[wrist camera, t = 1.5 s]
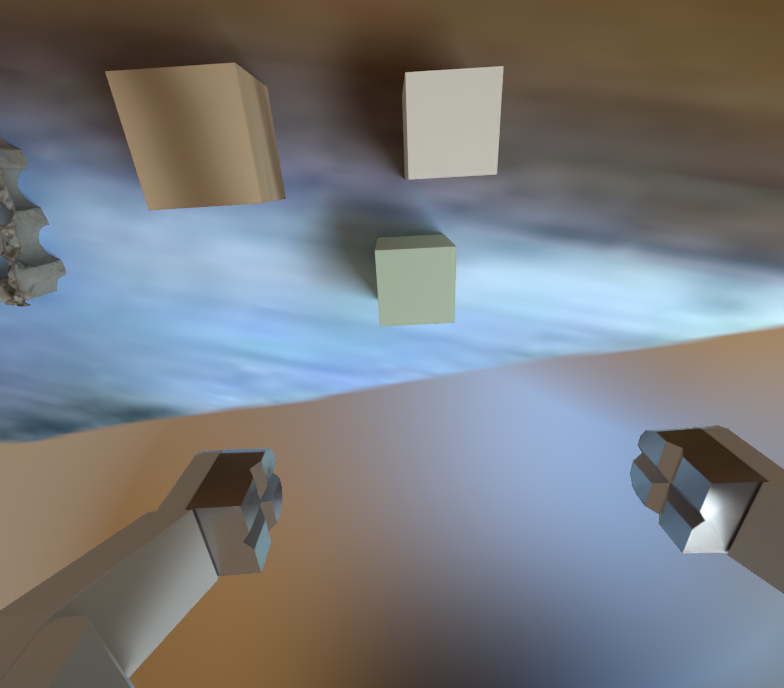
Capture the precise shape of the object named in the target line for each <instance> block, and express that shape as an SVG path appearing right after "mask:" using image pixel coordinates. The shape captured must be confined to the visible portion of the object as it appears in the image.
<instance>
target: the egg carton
mask: <svg viewBox="0 0 784 688" xmlns="http://www.w3.org/2000/svg"><path fill="white" fill-rule="evenodd" d="M25 169H28V165H27V161H26V158H25V156H24V154H23V152H22V150H21V149H18V148H15V147H13V146H11V145H9V144H8V143H6V142H5V141H4V140H3V139H2V137H1V136H0V204H2V205H3V206H4V207H5V208H7V209H8V210H12V211H13V218H12V220H11V222H9V223H8V224H6V225H0V255H1V256H2V257H4V258H6V259H7V260H8V262H9V271H8V274H7V276H8V278H4V279H0V302H5V304H7V305H17V306H30V304H27V303H25V300H30V299H33V298H35V297H39V296H42V295H45V294H48V293H51V292H54V291H57V282H58V279H59V278H60V277H61V276H64V275H66V270H65V267H64V265H63V262H62V260H60V259H57V258H55V257H53V256H51V255H49V254H48V253H47V252H46V251H45V250H44V249H43V247H42V246H41V244H40V242H39V238H38V236H39V232H40V230H41V228H42V227H43V226H45V225H49V223H48V220H47V218H46V217H45V215H44V213H43V211H42V209H41V207H38V206H36V205H34V204H32V203H30V202H29V201H28V200H27V199H26V198H25V197H24V196H23V195H22V193H21V192H20V190H19V187H18V181H17V178H18V176H19V174H20V172H21V171H22V170H25Z"/></svg>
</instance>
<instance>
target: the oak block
mask: <svg viewBox="0 0 784 688" xmlns="http://www.w3.org/2000/svg"><path fill="white" fill-rule="evenodd" d="M105 73H106V76H107V79H108V82H109V85H110V89H111V92H112V95H113V98H114V101H115V105H116V108H117V111H118V114H119V117H120V120H121V124H122V127H123V130H124V133H125V136H126V139H127V143H128V146H129V149H130V152H131V155H132V158H133V162H134V165H135V168H136V171H137V174H138V177H139V181H140V184H141V187H142V190H143V193H144V196H145V200H146V203H147V206H148V209H149V210H160V209H176V208H192V207H208V206H224V205H241V204H257V203H265V202H270V201H276V200H281V199H286V197H285V191H284V185H283V179H282V173H281V167H280V161H279V155H278V149H277V143H276V137H275V131H274V125H273V119H272V113H271V107H270V101H269V95H268V89H267V87H266V86H265V85H264V84H262V83H261V82H260V81H259V80H257V79H256V78H255V77H253V76H252V75H251V74H249V73H248V72H247V71H245V70H244V69H243V68H241V67H240V66H239V65H237V64H236V63H221V64H206V65H192V66H177V67H162V68H147V69H133V70H118V71H105Z"/></svg>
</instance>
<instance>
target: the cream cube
mask: <svg viewBox="0 0 784 688" xmlns="http://www.w3.org/2000/svg"><path fill="white" fill-rule="evenodd" d="M502 81H503V66H499V67H483V68H467V69H451V70H434V71H418V72H405V78H404V84H403V91H402V113H403V143H404V172H405V179H425V178H442V177H460V176H477V175H495V174H497V163H498V146H499V130H500V114H501V97H502Z"/></svg>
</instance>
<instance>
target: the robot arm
mask: <svg viewBox="0 0 784 688" xmlns="http://www.w3.org/2000/svg"><path fill="white" fill-rule="evenodd" d="M638 447H639V448H640V450H641V452H642V453H641V455H639V456H638V457H637V458H636V459H635V460H634V461H633V463H632V467H631V472H630V476H631V481H632V486H633V488H634V490H635V492H636V495H637V496H638V497H639V499H640V500H641V501H642V503H643V504H644V505H645V506H646V507H648V508H650V509H651V510H653V511H655V512H656V513H658V514H659V524H660V526H661V527H662V528H663V529H664V531H665V532H666V533H667V534H668V536H669V537H670V538H671V539H672V541H673V542H674V543H675V544H676V545H677V547H678V548H679V549H680V551H681V552H682V553H724V552H725V553H726V552H728V554H727V555H728V556H730V557H731V558H733V559H734V560H736V561H737V562H738V563H740V564H742V565H743V566H744V567H746V568H747V569H749V570H750V571H751V572H753V573H754V574H756V575H757V576H759V577H760V578H762V579H763V580H765V581H766V582H767V583H769V584H770V585H772V586H773V587H775V588H776V589H778V590H779V591H781V592H782V593H784V469H782V468H781V467H780V466H778V465H777V464H776V463H774V462H773V461H772V460H770V459H769V458H767V457H766V456H765V455H763V454H762V453H760V452H759V451H758V450H756V449H755V448H754V447H752V446H751V445H749V444H748V443H747V442H745V441H744V440H742V439H741V438H740V437H738V436H737V435H736V434H734V433H733V432H731V431H730V430H729V429H727V428H723V427H720V426H705V427H693V428H680V429H663V430H646V431H645V432H644V433H643V434H642V435H641V436H640V439H639V442H638ZM275 465H276V460H275V457H274V453H273V451H272V450H271V449H236V450H235V449H233V450H210V451H201V452H199V453H198V454H196V455H195V457H194V458H193V460H192V461H191V462H190V464H189V465H188V467H187V468H186V470H185V471H184V472H183V474H182V475H181V477H180V478H179V480H178V481H177V482H176V484H175V485H174V487H173V488H172V490H171V491H170V492H169V494H168V495H167V497H166V498H165V500H164V501H163V502H162V504H161V506H160V507H159V508H158V510H157V511H155V512H148V513H146V514H145V515H143V516H142V517H140V518H139V519H137V520H136V521H134V522H132V523H131V524H130V525H128V526H127V527H125V528H123V529H122V530H120V531H119V532H117V533H116V534H114V535H113V536H112V537H110V538H109V539H107V540H106V541H104V542H102V543H101V544H99V545H98V546H97V547H95V548H93V549H92V550H90V551H89V552H87V553H86V554H85V555H83V556H81V557H80V558H78V559H77V560H75V561H74V562H72V563H71V564H69V565H68V566H66V567H65V568H63V569H62V570H60V571H59V572H57V573H56V574H54V575H53V576H51V577H50V578H48V579H47V580H45V581H44V582H42V583H41V584H39V585H38V586H36V587H35V588H33V589H32V590H30V591H29V592H27V593H26V594H24V595H23V596H21V597H20V598H19V599H17V600H15V601H14V602H12V603H11V604H9V605H8V606H6V607H5V608H3V609H2V610H0V688H134V686H133V685H132V683H131V682H130V680H129V679H128V678H129V677H130V676H131V675H132V674H133V672H134V671H135V670H136V669H137V668H138V667H139V666H140V665H141V664H142V663H143V661H144V660H145V659H146V658H147V657H148V656H149V655H150V654H151V653H152V651H153V650H154V649H155V648H156V647H157V646H158V645H159V644H160V643H161V642H162V640H163V639H164V638H165V637H166V636H167V635H168V634H169V633H170V631H171V630H172V629H173V628H174V627H175V626H176V625H177V623H179V622H180V621H181V619H182V618H183V617H184V616H185V615H186V614H187V613H188V612H189V610H190V609H191V608H192V607H193V606H194V605H195V604H196V603H197V602H198V601H199V600H200V598H201V597H202V596H203V595H204V594H205V593H206V591H208V590H209V588H210V587H211V586H212V585H213V584H214V583H215V582H216V581H217V580H218V576H225V575H237V574H251V573H261V572H262V568H263V566H264V562H265V559H266V556H267V553H268V550H269V547H270V544H271V540H270V535H269V532H268V531H269V530H270V529H271V528H272V527H273V526H274V525H275V524H276V523H277V522H278V519H279V515H280V511H281V504H282V486H281V481H280V478H279V477H278V476H277V475H275V474H274V473H273V470H274V467H275Z"/></svg>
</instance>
